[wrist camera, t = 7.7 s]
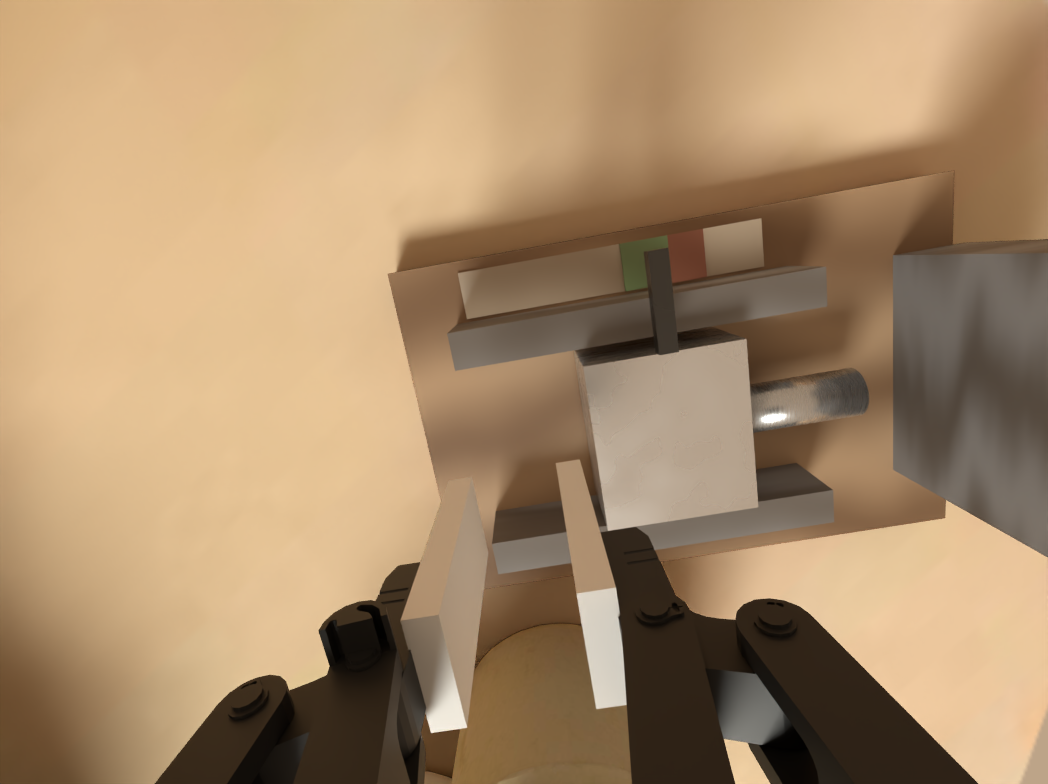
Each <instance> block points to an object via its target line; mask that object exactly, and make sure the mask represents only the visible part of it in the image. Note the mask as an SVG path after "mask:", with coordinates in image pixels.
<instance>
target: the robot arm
mask: <svg viewBox="0 0 1048 784" xmlns="http://www.w3.org/2000/svg"><path fill="white" fill-rule="evenodd" d="M556 468H557V474H558V481H559V487H560V493H561V500H562V506H563V512H564V519H565V525H566V531H567V537H568V544H569V550H570V556H571V563H572V569H573V575H574V581H575V588H576V594H577V600H578V606H579V611H580V617H581V623H582V629H583V634H584V640H585V646H586V652H587V658H588V663H589V669H590V675H591V681H592V687H593V692H594V698H595V704H596V709H601V708H608V707H615V706H622V705H627V719H628V734H629V749H630V764H631V779H632V784H735V781H734V778H733V774H732V770H731V766H730V762H729V758H728V754H727V751H726V747H725V743H724V739H728V740H735V741H741V742H747V743H748V744H749V747H750V749H751V751H752V753H753V754H754V756H755V758H756V760H757V761H758V763H759V765H760V766H761V768H762V770H763V771H764V773H765V775H766V777H767V778H768V780H769V782H770V783H771V784H978V783H977V782H976V781H975V780H974V779H973V778H972V777H971V776H970V775H969V774H968V773H967V772H966V771H965V770H964V769H963V768H962V767H961V766H960V765H959V764H958V763H957V762H956V761H955V760H954V759H953V758H952V757H951V756H950V755H949V754H948V753H947V752H946V751H945V750H944V749H943V748H942V747H941V746H940V745H939V744H938V743H937V742H936V741H935V739H934V738H933V737H932V736H931V735H930V734H929V733H928V732H927V731H926V730H925V729H924V728H923V727H922V726H921V725H920V724H919V723H918V722H917V721H916V720H915V719H914V718H913V717H912V716H911V715H910V714H909V713H908V712H907V711H906V710H905V709H904V708H903V707H902V706H901V705H900V704H899V703H898V702H897V701H896V700H895V699H894V698H893V697H892V696H891V695H890V694H889V693H888V692H887V691H886V690H885V689H884V688H883V687H882V686H881V685H880V684H879V683H878V682H877V681H876V680H875V679H874V678H873V677H872V676H871V675H870V674H869V673H868V672H867V671H866V670H865V669H864V668H863V667H862V666H861V665H860V664H859V663H858V662H857V661H856V660H855V659H854V658H853V657H852V656H851V655H850V654H849V653H848V652H847V651H846V650H845V649H844V648H843V647H842V646H841V645H840V644H839V643H838V642H837V641H836V640H835V639H834V638H833V637H832V636H831V635H830V634H829V633H828V632H827V631H826V630H825V629H824V628H823V627H822V626H821V625H820V624H819V623H818V622H817V621H816V620H815V619H814V618H813V617H812V616H811V615H810V614H809V613H808V612H806V611H805V610H803V609H802V608H801V607H799V606H797V605H795V604H792V603H789V602H787V601H783V600H777V599H770V598H769V599H758V600H753V601H751V602H748V603H746V604H744V605H743V606H742V607H741V608H740V609H739V610H738V611H737V614H736V620H729V619H717V618H711V617H705V616H702V615H699V614H696V613H694V612H692V611H690V610H689V608H688V606H687V605H686V603H685V602H684V601H682V600H681V599H679V598H678V597H677V596H676V595H675V593H674V591H673V589H672V587H671V584H670V582H669V580H668V578H667V576H666V573H665V571H664V569H663V567H662V565H661V562H660V560H659V559H658V556H657V554H656V551H655V550H654V547H653V545H652V543H651V540H650V538H649V536H648V535H647V534H645V533H644V532H642V531H641V530H640V529H638V528H637V527H631V528H624V529H618V530H612V531H605V532H600V530H599V526H598V522H597V519H596V515H595V512H594V508H593V505H592V501H591V498H590V494H589V491H588V487H587V484H586V480H585V477H584V473H583V469H582V466H581V462H580V459H578V460H572V461H566V462H560V463H556ZM487 560H488V549H487V545H486V540H485V535H484V531H483V526H482V521H481V517H480V512H479V508H478V503H477V498H476V494H475V489H474V484H473V480H472V477H469V478H462V479H456V480H450V481H448V483H447V486H446V489H445V492H444V495H443V498H442V501H441V504H440V507H439V510H438V513H437V515H436V518H435V521H434V524H433V527H432V530H431V533H430V536H429V539H428V542H427V545H426V548H425V550H424V553H423V556H422V559H421V562H419V563H412V564H406V565H400V566H397V567H396V568H395V569H394V570H393V572H392V573H391V574H390V575H389V576H388V577H387V578H386V579H385V581H384V583H383V585H382V588H381V590H380V595H378V597H377V599H376V601H372V600H369V601H361V602H357V603H354V604H351V605H348V606H345V607H344V608H342V609H340V610H338V611H337V612H335V613H333V614H332V615H331V616H330V617H329V618H328V619H327V620H326V621H324V623H323V624H322V626H321V628H320V629H319V634H320V637H321V640H322V643H323V646H324V650H325V653H326V656H327V659H328V662H329V665H330V667H329V670H328V674H327V675H326V676H324V677H322V678H320V679H318V680H316V681H313V682H310V683H308V684H305V685H303V686H300V687H298V688H295V689H292V690H290V691H289V689H288V686H287V683H286V681H285V680H284V679H283V678H281V677H280V676H275V675H267V676H262V677H258V678H255V679H253V680H250V681H248V682H246V683H244V684H242V685H240V686H239V687H238V688H236V689H235V690H233V691H232V692H230V693H229V694H228V695H227V696H226V697H225V698H224V699H223V700H222V701H221V702H220V703H219V704H218V705H217V706H216V707H215V709H214V710H213V711H212V712H211V714H210V715H209V716H208V717H207V719H206V720H205V721H204V722H203V724H202V725H201V726H200V727H199V729H198V730H197V731H196V732H195V734H194V735H193V736H192V737H191V739H190V740H189V741H188V742H187V744H186V745H185V746H184V748H183V749H182V750H181V751H180V753H179V754H178V755H177V756H176V758H175V759H174V760H173V761H172V763H171V764H170V765H169V766H168V768H167V769H166V770H165V771H164V773H163V774H162V775H161V776H160V778H159V779H158V780H157V781H156V783H155V784H424V780H425V762H426V752H425V746H424V742H423V738H422V735H421V730H422V725H423V721H424V716H425V713H426V716H427V720H428V724H429V727H430V731H431V733H435V732H442V731H449V730H456V729H462V728H467V724H468V716H469V708H470V700H471V691H472V683H473V675H474V667H475V658H476V650H477V642H478V634H479V625H480V617H481V609H482V601H483V593H484V584H485V576H486V568H487Z"/></svg>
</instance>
